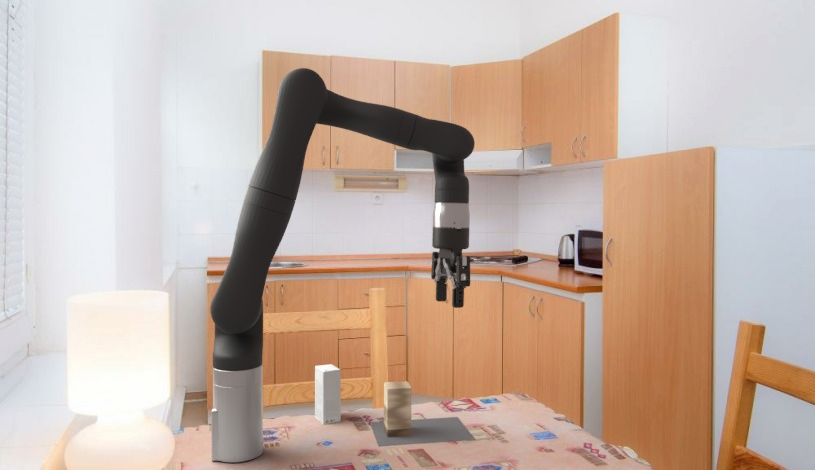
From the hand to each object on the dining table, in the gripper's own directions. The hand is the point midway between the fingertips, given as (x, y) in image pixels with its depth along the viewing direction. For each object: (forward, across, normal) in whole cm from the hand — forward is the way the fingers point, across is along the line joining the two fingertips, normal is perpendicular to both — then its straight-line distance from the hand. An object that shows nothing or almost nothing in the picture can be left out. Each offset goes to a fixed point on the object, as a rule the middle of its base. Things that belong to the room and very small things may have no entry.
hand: (449, 304), depth 125 cm
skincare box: (+28, -19, -21) cm, 40 cm away
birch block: (+28, -6, -9) cm, 29 cm away
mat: (+28, -5, -4) cm, 29 cm away
